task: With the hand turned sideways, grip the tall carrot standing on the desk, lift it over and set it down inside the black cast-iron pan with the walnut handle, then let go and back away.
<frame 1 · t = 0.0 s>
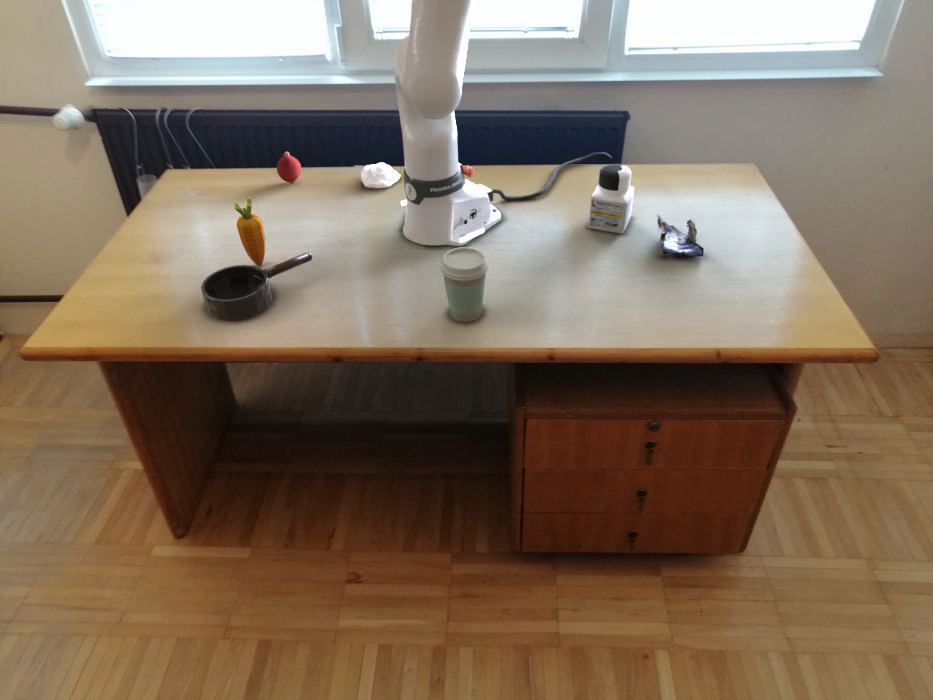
white lumpy piece: (380, 181, 177), on the table
pan handle: (287, 265, 142), point 3 cm above the table
pan: (239, 301, 138), on the table
snack package: (677, 247, 150), on the table
coffee cup: (465, 313, 134), on the table
container: (609, 224, 158), on the table
carrot: (260, 266, 148), on the table
onion: (291, 183, 177), on the table
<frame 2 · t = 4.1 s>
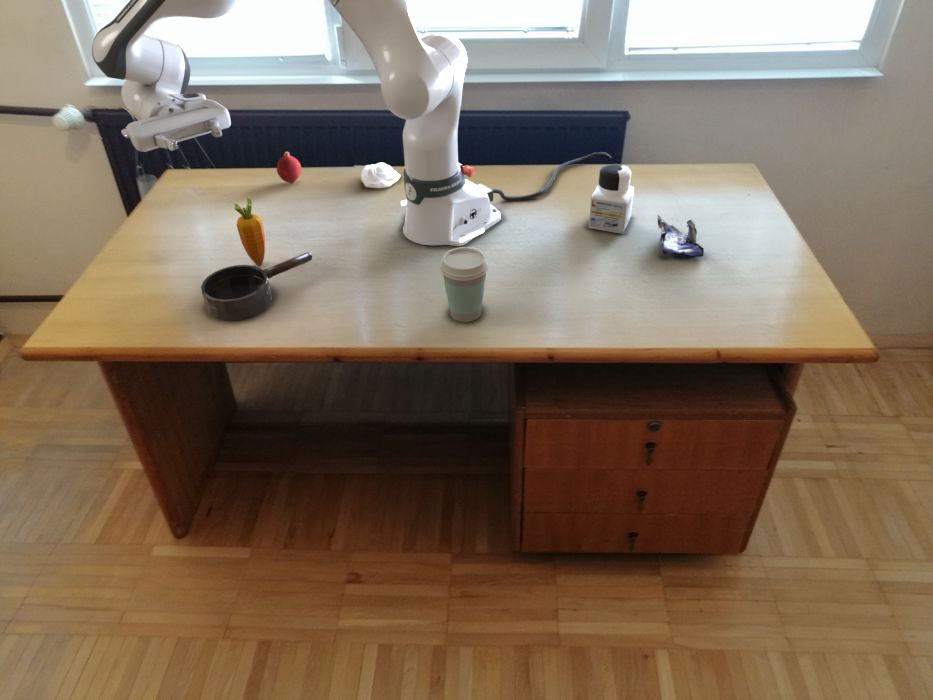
hand: (196, 139, 143), 22 cm above the table, tool horizontal, fingers open, 8 cm apart
nothing on the table moved.
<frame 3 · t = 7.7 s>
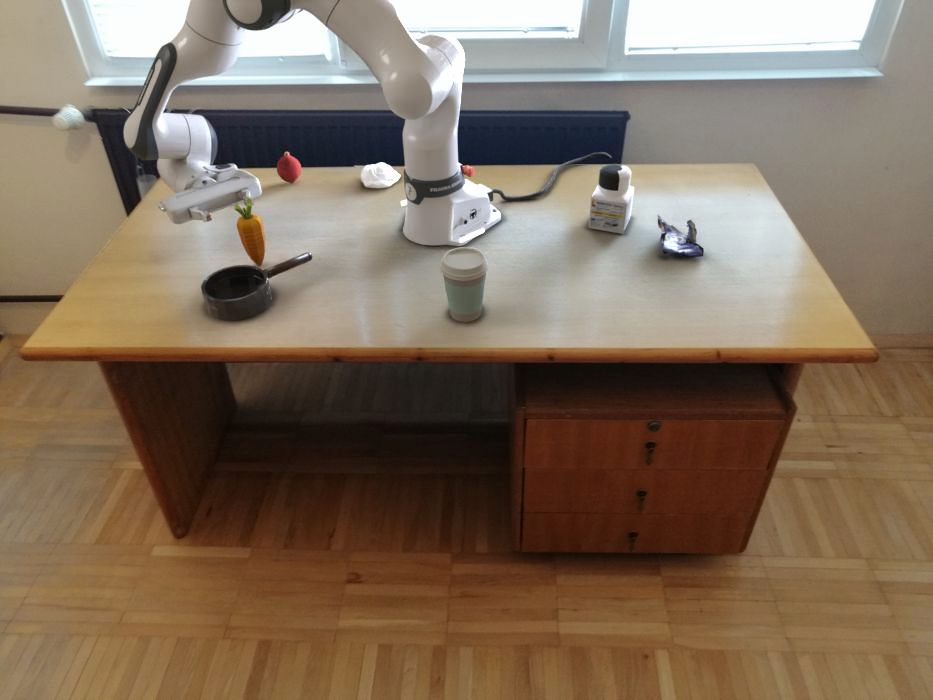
hand: (229, 210, 148), 9 cm above the table, tool horizontal, fingers open, 8 cm apart
nothing on the table moved.
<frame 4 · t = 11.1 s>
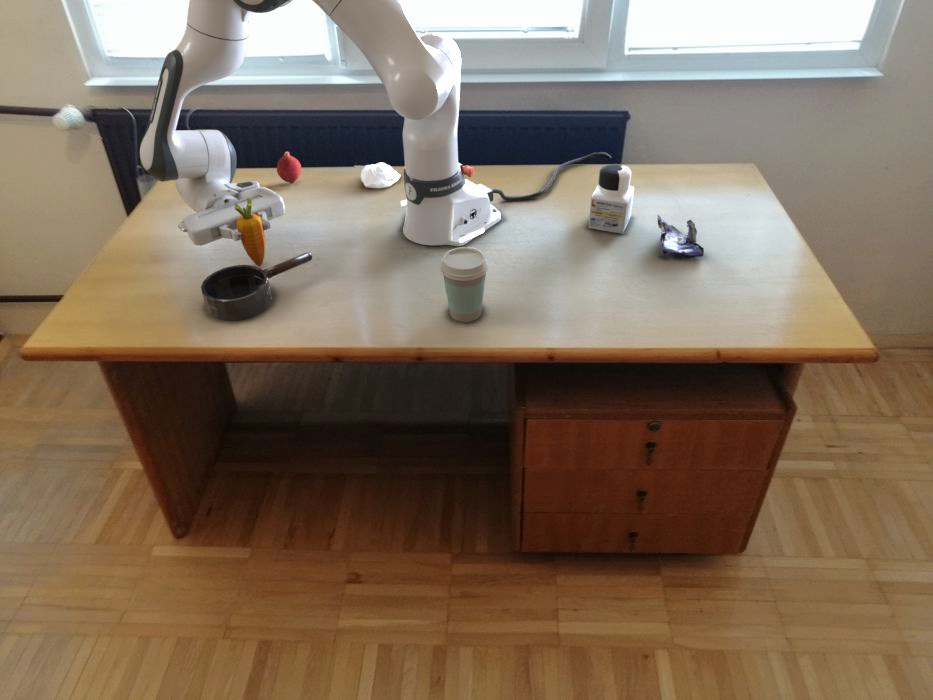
hand: (253, 231, 142), 9 cm above the table, tool horizontal, fingers closed on carrot, 5 cm apart
carrot: (259, 266, 148), on the table, touching gripper
everything else where it was.
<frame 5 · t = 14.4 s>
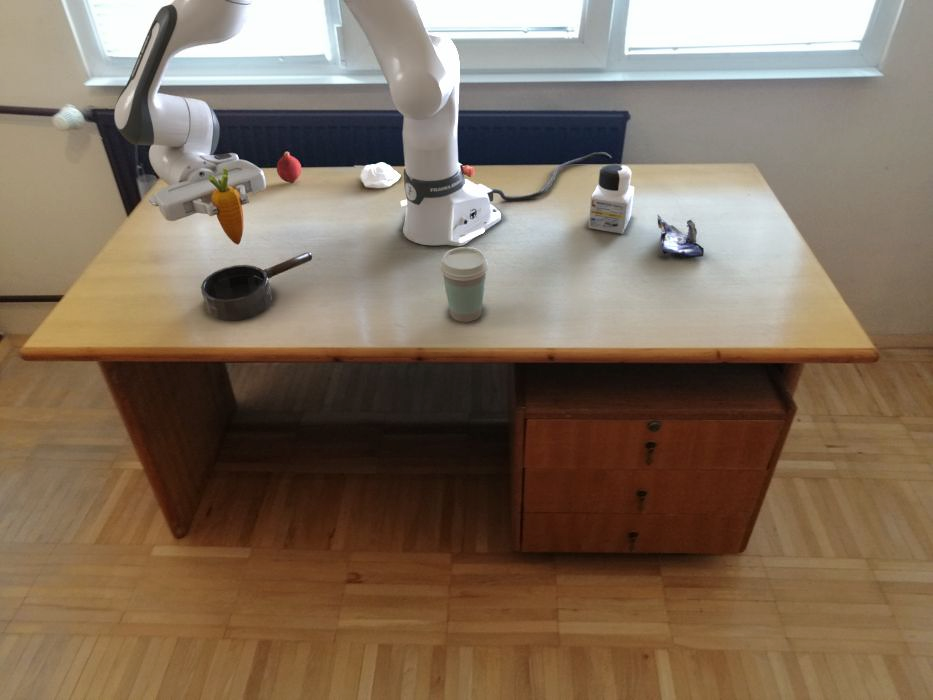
hand: (229, 205, 131), 18 cm above the table, tool horizontal, fingers closed on carrot, 5 cm apart
carrot: (238, 245, 137), point 9 cm above the table, touching gripper
everything else where it was.
when the fingers open (9 cm above the table, at t = 18.1 s): carrot stays where it is, resting on pan.
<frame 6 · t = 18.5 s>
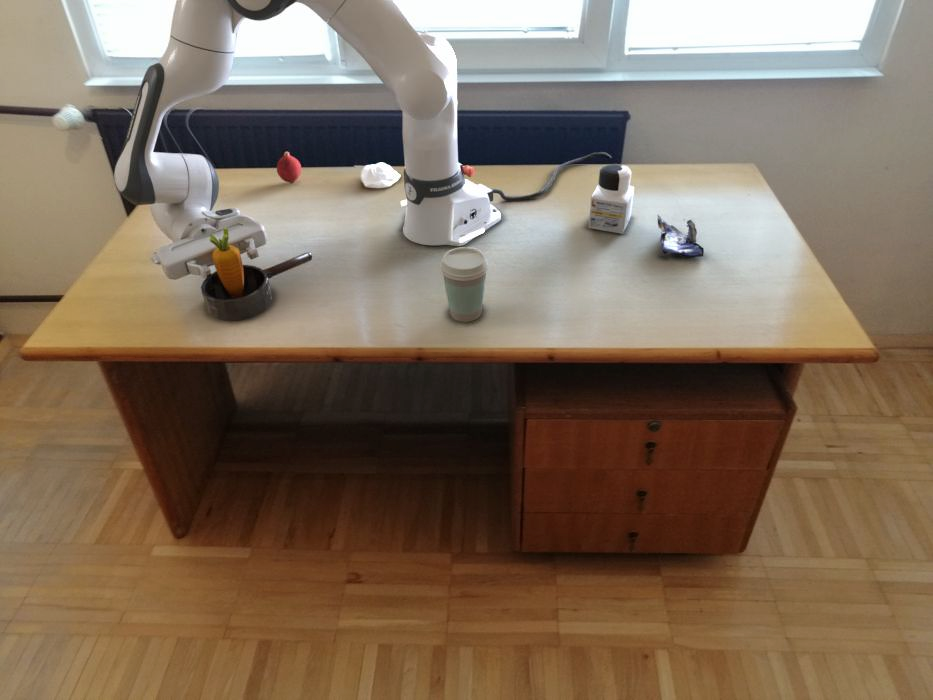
hand: (231, 264, 132), 9 cm above the table, tool horizontal, fingers open, 8 cm apart
carrot: (238, 300, 138), resting on pan
everything else where it was.
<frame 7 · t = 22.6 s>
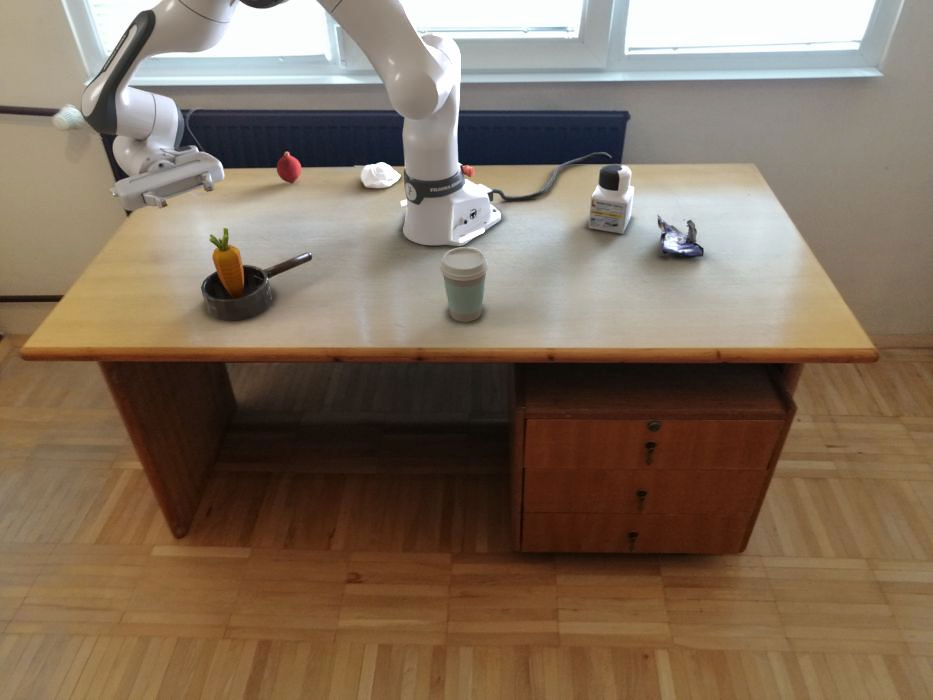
hand: (187, 195, 135), 18 cm above the table, tool horizontal, fingers open, 8 cm apart
nothing on the table moved.
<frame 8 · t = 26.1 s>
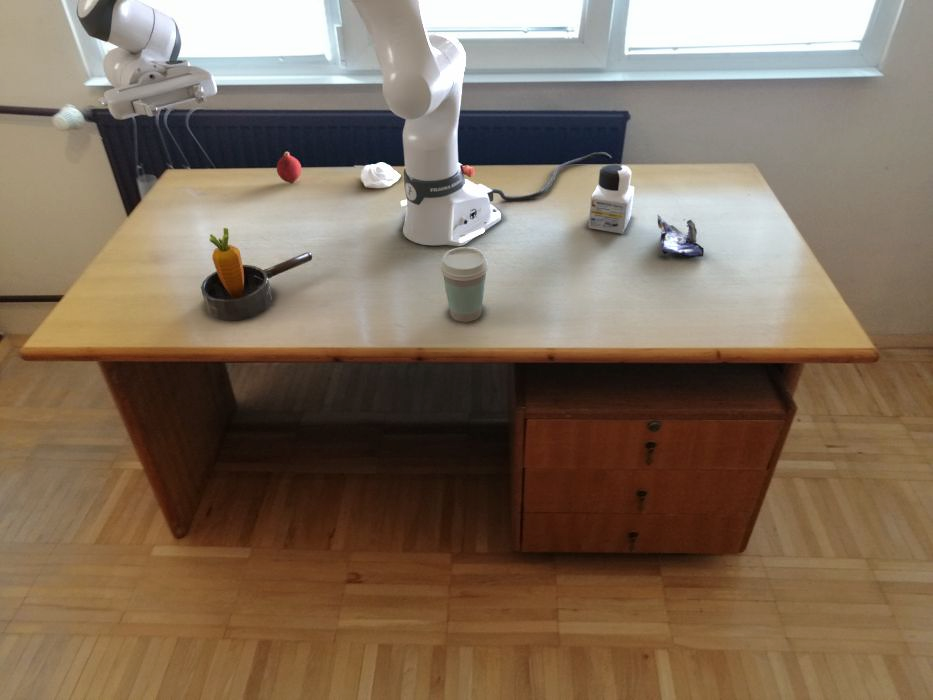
hand: (178, 104, 132), 32 cm above the table, tool horizontal, fingers open, 8 cm apart
nothing on the table moved.
at the end: carrot inside the target area in the pan (0.2 cm from its centre), point 0.3 cm above the pan's base; carrot touching pan; the gripper is holding nothing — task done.
